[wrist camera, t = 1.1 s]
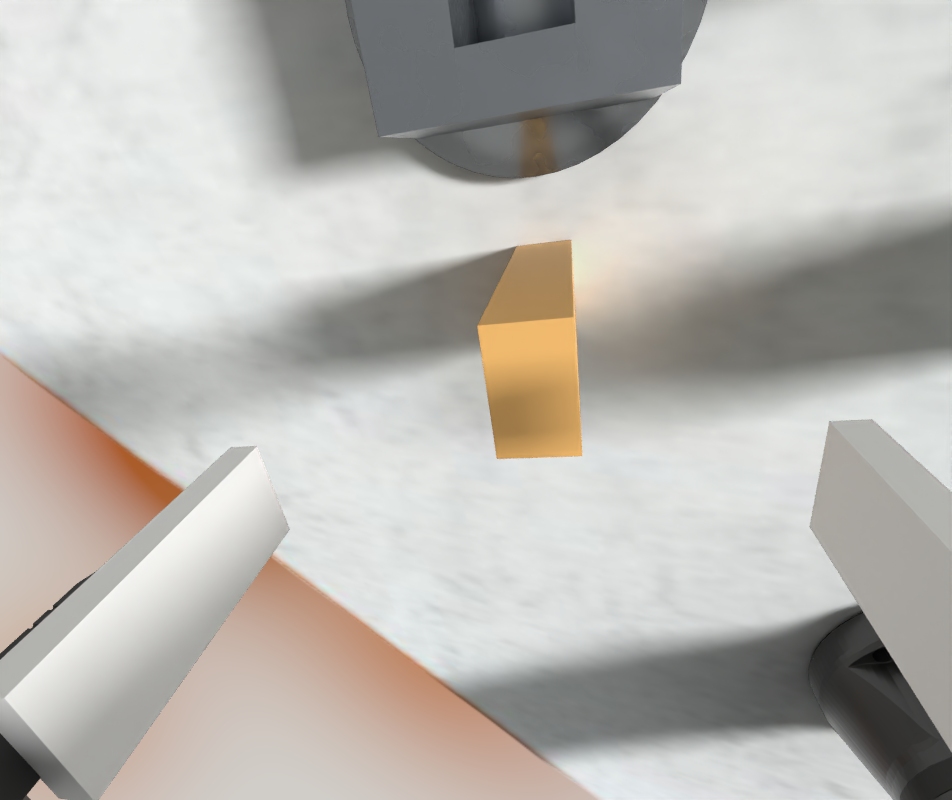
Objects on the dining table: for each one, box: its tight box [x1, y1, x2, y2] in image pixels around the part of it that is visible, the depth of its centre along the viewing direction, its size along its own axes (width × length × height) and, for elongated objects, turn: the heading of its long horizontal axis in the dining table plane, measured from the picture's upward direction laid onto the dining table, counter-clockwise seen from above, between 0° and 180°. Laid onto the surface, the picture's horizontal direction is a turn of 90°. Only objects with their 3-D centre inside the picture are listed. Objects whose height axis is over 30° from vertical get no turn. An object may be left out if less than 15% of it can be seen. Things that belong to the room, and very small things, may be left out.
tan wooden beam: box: [477, 240, 582, 459], centre depth 23 cm, size 5×3×14 cm, turn 8°
